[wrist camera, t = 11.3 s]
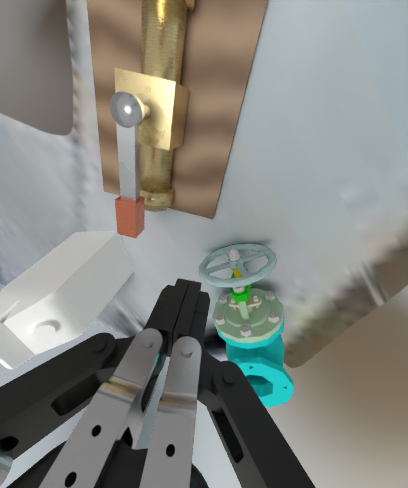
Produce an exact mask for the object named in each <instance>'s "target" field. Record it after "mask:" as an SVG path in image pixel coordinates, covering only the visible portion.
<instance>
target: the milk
mask: <svg viewBox="0 0 408 488" xmlns="http://www.w3.org/2000/svg"><path fill="white" fill-rule="evenodd" d="M133 272H134V271H133V268H132V266H131V263H130V260H129V258H128V255H127V252H126V250H125V247H124V245H123V242H122V239H121V237H120V234H118V232H117V231H102V232H75V233H74V234H72V235H71V236H70V237H69V238H67V239H66V240H65V241H63V242H62V243H61V244H59V245H58V246H57V247H56V248H54V249H53V250H52V251H50V252H49V253H48V254H46V255H45V256H44V257H43V258H41V259H40V260H39V261H37V262H36V263H35V264H34V265H32V266H31V267H30V268H28V269H27V270H26V271H24V272H23V273H22V274H21V275H19V276H18V277H17V278H15V279H14V280H13V281H11V282H10V283H9V284H8V285H6V286H5V287H4V288H3V289H2V290H1V292H0V363H1V364H2V365H3V366H5V367H6V368H7V369H13V370H14V369H16V368H17V367H19V366H20V365H22V364H23V363H25V362H26V361H28V360H29V359H31V358H32V357H33V356H34V355H35V354H39V353H42V352H44V351H47V350H49V349H51V348H54V347H56V346H58V345H61V344H63V343H66V342H68V341H70V340H72V339H75V338H76V337H78V336H80V335H81V334H82V333H84V332H85V331H86V330H87V328H88V327H89V326H90V325H91V324H92V322H93V321H94V320H95V319H96V317H97V316H98V315H99V314H100V313H101V311H102V310H103V309H104V308H105V306H106V305H107V304H108V303H109V302H110V300H111V299H112V298H113V297H114V295H115V294H116V293H117V292H118V291H119V289H120V288H121V287H122V286H123V284H124V283H125V282H126V281H127V280H128V278H129V277H130V276H131V275H132V273H133Z"/></svg>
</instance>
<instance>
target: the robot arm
mask: <svg viewBox="0 0 408 488" xmlns="http://www.w3.org/2000/svg"><path fill="white" fill-rule="evenodd" d="M200 290H201V283H200V282H195V281H189V280H184V279H179V278H178V279H177V282H176V284H175V286H171V285H168V286H166V287H165V288H164V289H163V290H162V292H161V294H160V296H159V299H158V300H157V302H156V304H155V307H154V309H153V311H152V313H151V315H150V317H149V319H148V322H147V324H146V326H145V328H144V329H143V330H142V331H140V332H139V333H138V334H137V335H135V336H133V337H129V338H122V339H115V338H114V337H113V335H111V334H109V333H99V334H96V335H94V336H92V337H90V338H89V339H87V340H85V341H83V342H81V343H79V344H78V345H76V346H74V347H72V348H70V349H69V350H67V351H65V352H63V353H62V354H59V355H58V356H56V357H54V358H52V359H50V360H49V361H47V362H45V363H43V364H41V365H39V366H38V367H36V368H34V369H32V370H30V371H29V372H27V373H25V374H23V375H21V376H20V377H18V378H16V379H14V380H12V381H10V382H9V383H7V384H5V385H3V386H1V387H0V485H1V484H2V483H3V482H4V480H5V479H6V477H7V475H8V473H9V471H10V469H11V466H12V462H13V460H14V459H16V458H17V457H18V456H20V455H21V454H22V453H24V452H25V451H26V450H28V449H29V448H31V447H32V446H33V445H35V444H36V443H37V442H39V441H40V440H41V439H43V438H44V437H45V436H47V435H48V434H49V433H51V432H52V431H53V430H55V429H56V428H58V427H59V426H60V425H62V424H63V423H64V422H66V421H67V420H68V419H70V418H71V417H72V416H74V415H75V414H76V413H78V412H79V411H81V410H82V409H83V408H85V407H86V406H87V405H88V407H87V409H86V410H85V412H84V414H83V415H82V417H81V419H80V420H79V422H78V423H77V425H76V427H75V429H74V430H73V432H72V434H71V435H70V437H69V438H68V440H67V441H65V442H63V443H61V444H60V445H59V446H57V447H56V448H54V449H53V450H51V451H50V452H49V453H48V454H46V455H45V456H44V457H43V458H42V459H40V460H39V461H38V462H37V463H36V464H34V465H33V466H32V467H31V468H30V469H28V470H27V471H26V472H25V473H23V474H22V475H21V476H20V477H19V478H18V479H16V480H15V481H14V482H13V483H12V484H10V485H9V486H8V487H7V488H209V487H208V485H207V483H206V481H205V479H204V477H203V476H202V474H201V473H200V472H199V471H198V469H197V468H196V467H195V466H194V465H193V464H192V453H193V443H194V431H195V420H196V410H197V400H199V401H200V402H201V403H203V404H204V405H205V406H207V409H208V411H209V414H210V416H211V418H212V420H213V423H214V425H215V427H216V430H217V432H218V434H219V437H220V439H221V441H222V443H223V446H224V448H225V450H226V452H227V455H228V457H229V459H230V461H231V464H232V466H233V468H234V471H235V473H236V475H237V478H238V480H239V482H240V484H241V487H242V488H315V486H314V485H313V483H312V481H311V480H310V478H309V477H308V475H307V473H306V472H305V470H304V469H303V467H302V465H301V464H300V462H299V461H298V459H297V457H296V456H295V454H294V453H293V451H292V450H291V448H290V446H289V445H288V443H287V442H286V440H285V438H284V437H283V435H282V434H281V432H280V430H279V429H278V427H277V426H276V424H275V423H274V421H273V419H272V418H271V416H270V414H269V413H268V411H267V410H266V408H265V407H264V405H263V403H262V402H261V400H260V399H259V397H258V395H257V394H256V392H255V391H254V389H253V387H252V386H251V384H250V383H249V381H248V379H247V378H246V376H245V375H244V373H243V372H242V370H241V369H240V367H239V366H238V365H237V364H235V363H234V362H231V361H222V362H220V361H219V360H217V359H216V358H214V357H212V356H211V355H210V354H209V353H208V352H207V351H206V349H205V347H204V342H203V340H204V333H205V327H206V321H207V316H208V310H209V304H210V298H209V295H208V293H206V292H201V291H200ZM167 356H168V357H170V362H169V366H168V371H167V375H166V380H165V385H164V389H163V393H162V396H161V398H160V401H159V405H158V409H157V413H156V417H155V422H154V426H153V430H152V435H151V439H150V444H149V448H148V449H139V450H134V449H135V446H136V444H137V441H138V438H139V436H140V433H141V430H142V427H143V423H144V418H145V415H146V412H147V409H148V407H149V404H150V402H151V399H152V396H153V394H154V391H155V389H156V386H157V383H158V381H159V378H160V376H161V373H162V370H163V366H164V363H165V360H166V357H167Z"/></svg>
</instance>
